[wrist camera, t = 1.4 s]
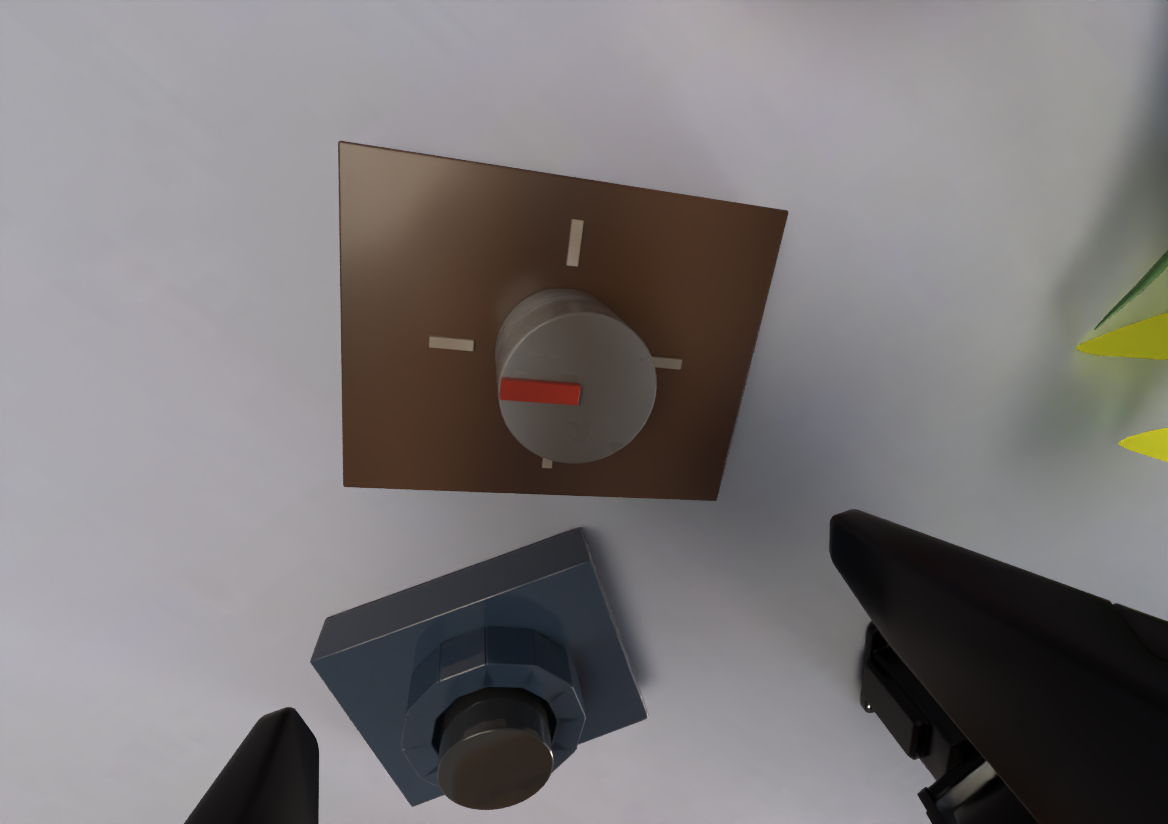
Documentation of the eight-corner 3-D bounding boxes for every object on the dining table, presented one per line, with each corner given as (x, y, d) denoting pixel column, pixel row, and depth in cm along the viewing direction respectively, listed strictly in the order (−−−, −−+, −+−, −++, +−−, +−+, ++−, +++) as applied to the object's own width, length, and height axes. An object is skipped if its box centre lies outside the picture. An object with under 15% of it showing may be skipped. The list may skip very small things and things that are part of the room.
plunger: (527, 669, 22) (532, 713, 20) (561, 739, 24) (568, 785, 22) (423, 708, 22) (418, 755, 20) (464, 775, 24) (463, 825, 22)
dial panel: (749, 208, 21) (792, 211, 18) (691, 467, 25) (718, 503, 22) (359, 147, 18) (336, 139, 15) (360, 450, 22) (342, 490, 19)
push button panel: (580, 526, 25) (599, 592, 21) (636, 676, 29) (661, 757, 25) (325, 618, 25) (293, 704, 21) (417, 758, 29) (406, 854, 25)
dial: (633, 295, 19) (674, 323, 15) (613, 417, 20) (645, 472, 16) (500, 279, 18) (505, 305, 14) (490, 409, 19) (492, 465, 15)
